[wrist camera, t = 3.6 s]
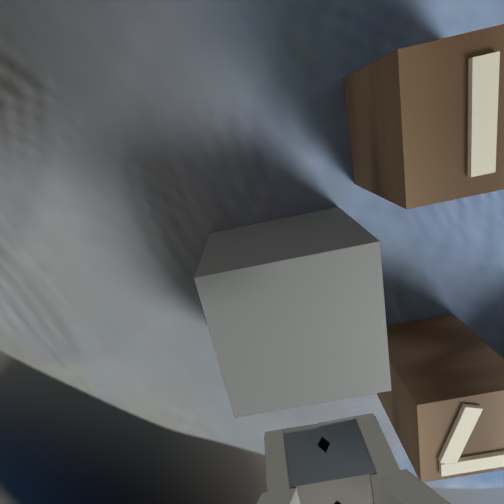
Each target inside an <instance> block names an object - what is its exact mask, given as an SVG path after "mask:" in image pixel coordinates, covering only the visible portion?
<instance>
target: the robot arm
mask: <svg viewBox="0 0 504 504" xmlns="http://www.w3.org/2000/svg"><path fill="white" fill-rule="evenodd" d="M264 442H265V458H266V474H267V488H268V489H267V490H268V492H267V493H262V495H261V497H260V499H259V500H258V503H257V504H450V503H449V502H447V501H446V500H445V499H444V498H443V497H441V496H440V495H439V494H437V493H436V492H435V491H434V490H432V489H431V488H430V487H428V486H427V485H426V484H424V483H423V482H422V481H421V480H419V479H418V478H417V477H415V476H414V475H413V474H412V473H410V472H409V471H408V470H406V469H405V470H400V469H399V467H398V464H397V462H396V460H395V458H394V456H393V454H392V451H391V449H390V447H389V445H388V443H387V441H386V438H385V436H384V434H383V432H382V430H381V428H380V426H379V423H378V421H377V419H376V417H375V416H374V415H373V414H372V413H371V414H366V415H360V416H355V417H348V418H343V419H338V420H332V421H327V422H322V423H318V424H313V425H307V426H300V427H293V428H286V429H281V430H275V431H269V432H265V436H264Z"/></svg>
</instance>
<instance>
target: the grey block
mask: <svg viewBox="0 0 504 504" xmlns="http://www.w3.org/2000/svg"><path fill="white" fill-rule="evenodd" d="M194 281H195V284H196V287H197V291H198V294H199V298H200V301H201V304H202V308H203V311H204V315H205V318H206V321H207V325H208V328H209V332H210V335H211V339H212V342H213V345H214V349H215V352H216V356H217V359H218V362H219V366H220V369H221V373H222V376H223V379H224V383H225V386H226V390H227V393H228V397H229V400H230V403H231V407H232V410H233V414H234V417H235V418H236V417H242V416H248V415H254V414H259V413H265V412H271V411H277V410H283V409H288V408H294V407H300V406H306V405H312V404H317V403H323V402H329V401H335V400H341V399H346V398H352V397H358V396H364V395H370V394H375V393H381V392H387V391H392V390H391V378H390V365H389V352H388V339H387V327H386V314H385V301H384V289H383V276H382V263H381V250H380V241H379V240H378V239H376V238H375V237H374V236H373V235H372V234H370V233H369V232H368V231H367V230H366V229H364V228H363V227H362V226H361V225H359V224H358V223H357V222H356V221H355V220H353V219H352V218H351V217H350V216H349V215H347V214H346V213H345V212H344V211H343V210H341V209H340V208H339V207H334V208H330V209H325V210H320V211H315V212H310V213H305V214H300V215H295V216H290V217H286V218H281V219H276V220H271V221H266V222H261V223H256V224H251V225H246V226H241V227H237V228H232V229H227V230H222V231H217V232H212V233H210V234H209V237H208V240H207V242H206V245H205V248H204V251H203V254H202V256H201V259H200V262H199V265H198V268H197V270H196V273H195V276H194Z"/></svg>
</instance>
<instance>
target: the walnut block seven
mask: <svg viewBox="0 0 504 504" xmlns="http://www.w3.org/2000/svg"><path fill="white" fill-rule="evenodd" d="M386 327H387V339H388V352H389V365H390V378H391V390H392V391H387V392H381V393H377V395H378V397H379V399H380V401H381V403H382V405H383V407H384V409H385V411H386V413H387V415H388V417H389V419H390V421H391V423H392V425H393V427H394V429H395V431H396V433H397V435H398V437H399V439H400V441H401V443H402V445H403V447H404V449H405V451H406V453H407V455H408V457H409V460H410V462H411V464H412V466H413V468H414V470H415V472H416V474H417V476H418V478H419V480H421V481H422V482H428V481H434V480H441V479H447V478H453V477H459V476H466V475H472V474H478V473H484V472H491V471H497V470H503V469H504V359H503V358H502V357H501V356H500V355H499V354H497V353H496V352H495V351H494V350H493V349H492V348H491V347H489V346H488V345H487V344H486V343H485V342H484V341H483V340H482V339H480V338H479V337H478V336H477V335H476V334H475V333H474V332H473V331H471V330H470V329H469V328H468V327H467V326H466V325H465V324H464V323H462V322H461V321H460V320H459V319H458V318H457V317H456V316H455V315H453V314H451V315H445V316H440V317H435V318H429V319H424V320H418V321H413V322H408V323H402V324H397V325H392V326H386Z"/></svg>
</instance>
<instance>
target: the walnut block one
mask: <svg viewBox="0 0 504 504" xmlns="http://www.w3.org/2000/svg"><path fill="white" fill-rule="evenodd" d="M344 89H345V98H346V108H347V117H348V127H349V136H350V145H351V155H352V164H353V174H354V183H355V184H356V185H358V186H360V187H362V188H364V189H366V190H368V191H370V192H372V193H374V194H376V195H378V196H380V197H382V198H384V199H387V200H389V201H391V202H393V203H395V204H397V205H399V206H401V207H403V208H405V209H410V208H415V207H420V206H424V205H429V204H434V203H439V202H444V201H449V200H453V199H458V198H463V197H468V196H473V195H477V194H482V193H487V192H492V191H497V190H501V189H504V24H503V25H498V26H494V27H490V28H486V29H481V30H477V31H473V32H469V33H464V34H460V35H456V36H452V37H447V38H443V39H439V40H435V41H430V42H426V43H422V44H418V45H413V46H409V47H405V48H401V49H397V50H395V51H393V52H392V53H390V54H388V55H386V56H384V57H382V58H380V59H379V60H377V61H375V62H373V63H371V64H369V65H368V66H366V67H364V68H362V69H360V70H358V71H356V72H355V73H353V74H351V75H349V76H347V77H345V78H344Z"/></svg>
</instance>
